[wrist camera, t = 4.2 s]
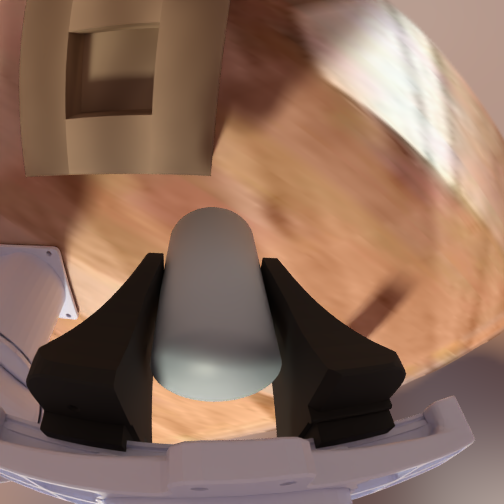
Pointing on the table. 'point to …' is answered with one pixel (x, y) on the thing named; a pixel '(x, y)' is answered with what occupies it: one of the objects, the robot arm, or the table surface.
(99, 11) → the walnut socket block
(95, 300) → the table surface
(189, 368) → the peg
